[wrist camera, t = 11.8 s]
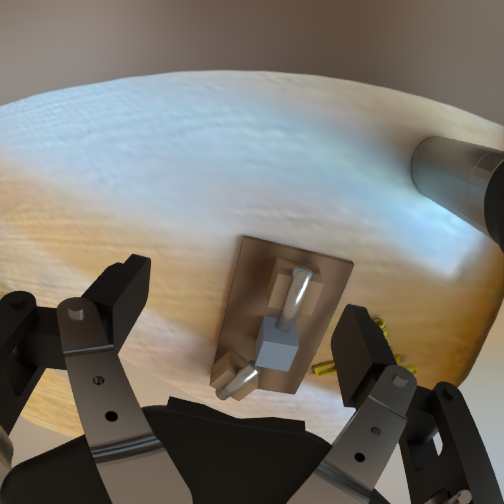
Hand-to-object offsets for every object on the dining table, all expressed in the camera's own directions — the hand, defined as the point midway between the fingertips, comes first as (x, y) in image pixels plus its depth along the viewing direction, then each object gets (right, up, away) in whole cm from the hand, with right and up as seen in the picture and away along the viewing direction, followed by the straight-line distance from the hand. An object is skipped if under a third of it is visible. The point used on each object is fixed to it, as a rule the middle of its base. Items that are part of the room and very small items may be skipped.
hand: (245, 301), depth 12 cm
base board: (+4, -10, +37) cm, 39 cm away
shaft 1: (-2, -18, +36) cm, 41 cm away
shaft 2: (+6, -4, +30) cm, 30 cm away
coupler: (+4, -10, +36) cm, 38 cm away
